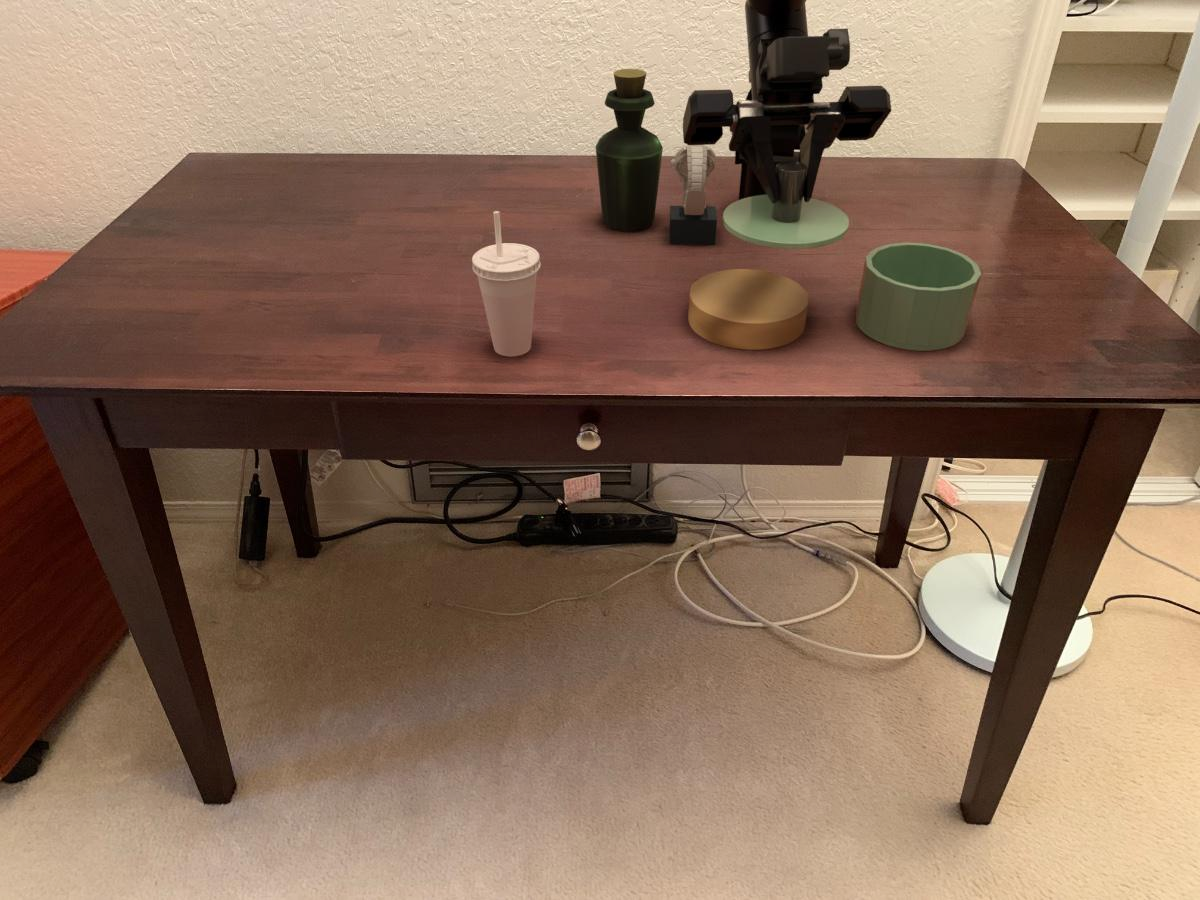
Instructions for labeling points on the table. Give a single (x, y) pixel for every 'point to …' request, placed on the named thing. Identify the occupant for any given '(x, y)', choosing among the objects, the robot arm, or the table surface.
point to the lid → (786, 215)
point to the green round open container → (916, 296)
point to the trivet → (747, 309)
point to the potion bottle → (629, 157)
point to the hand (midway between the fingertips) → (791, 200)
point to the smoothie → (508, 291)
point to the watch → (693, 198)
